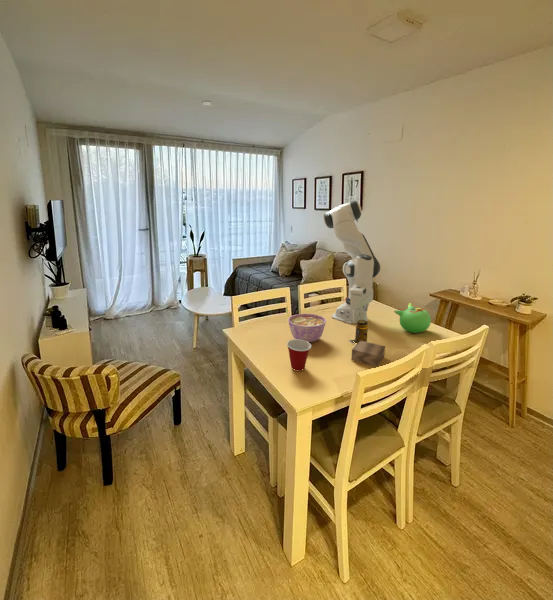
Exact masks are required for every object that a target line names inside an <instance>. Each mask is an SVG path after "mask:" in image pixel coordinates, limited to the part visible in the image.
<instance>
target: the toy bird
mask: <svg viewBox="0 0 553 600" xmlns="http://www.w3.org/2000/svg"><path fill="white" fill-rule="evenodd" d="M393 311H394V313H395V314H396V315H398V317H399V325H400V326H401V328H402V329H404V330H405V331H406V332H408V333H412V334H413V333H414V334H417V333H422V332H424V331H427V330H428V329H429V327H430V326H431V323H432V318H431V315H430V314H429V312H428V311H427V310H426V309H424V308H420V307H414V306H413V305H412V303H411V302H409V303H408V306H407V308H406V309H405V310H397V309H395V310H393Z"/></svg>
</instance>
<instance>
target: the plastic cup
mask: <svg viewBox="0 0 553 600" xmlns="http://www.w3.org/2000/svg"><path fill="white" fill-rule="evenodd" d="M286 346H287V349H288V354H289V360H290V361H289V362H290V366H291V369H292V368H293V369H295V370H302V369H304V370H305V367H306V363H307V361H308V360H307V359H308V355H309V351H310V349H312V344H311V343H309V342H307V341H304V340H299V339H295V338H294V339H290V340H288V341H287V342H286ZM293 369H292V370H293Z"/></svg>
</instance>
